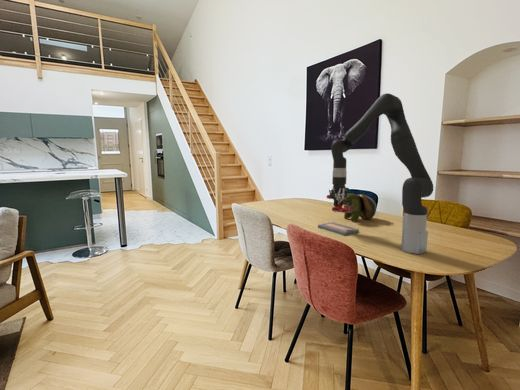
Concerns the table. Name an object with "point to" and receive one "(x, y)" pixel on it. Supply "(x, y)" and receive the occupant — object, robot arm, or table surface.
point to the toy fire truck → (339, 208)
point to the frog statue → (359, 206)
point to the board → (338, 228)
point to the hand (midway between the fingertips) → (338, 205)
